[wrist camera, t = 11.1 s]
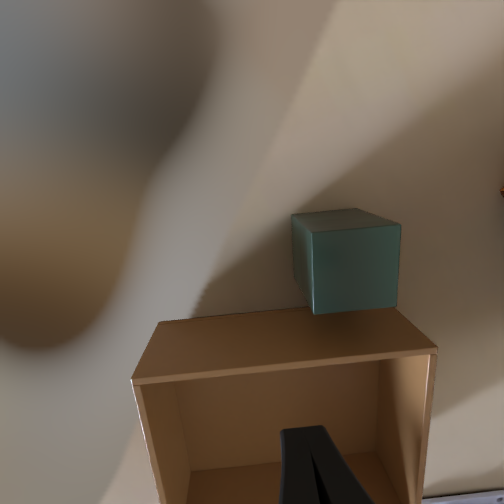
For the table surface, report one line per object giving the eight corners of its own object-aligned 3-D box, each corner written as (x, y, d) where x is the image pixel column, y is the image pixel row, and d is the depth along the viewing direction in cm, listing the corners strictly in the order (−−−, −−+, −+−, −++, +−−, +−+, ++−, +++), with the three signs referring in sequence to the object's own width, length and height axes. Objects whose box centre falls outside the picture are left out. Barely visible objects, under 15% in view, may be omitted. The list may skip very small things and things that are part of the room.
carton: (385, 299, 20) (438, 346, 14) (378, 449, 23) (418, 531, 18) (158, 321, 19) (130, 378, 14) (187, 470, 23) (172, 560, 18)
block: (357, 208, 18) (402, 224, 13) (356, 271, 19) (396, 307, 14) (291, 214, 18) (311, 232, 13) (293, 277, 19) (313, 315, 14)
